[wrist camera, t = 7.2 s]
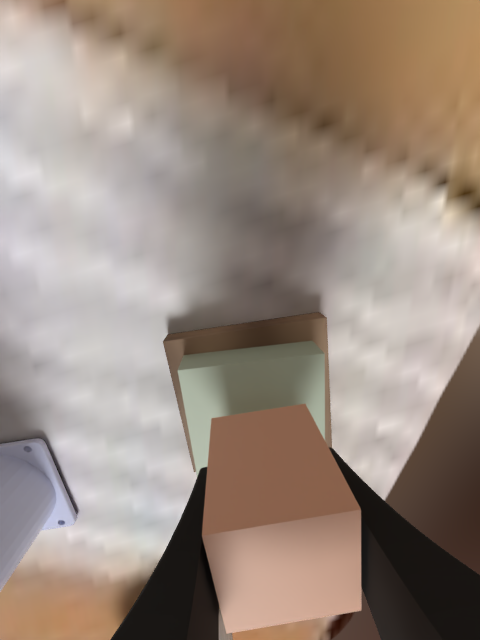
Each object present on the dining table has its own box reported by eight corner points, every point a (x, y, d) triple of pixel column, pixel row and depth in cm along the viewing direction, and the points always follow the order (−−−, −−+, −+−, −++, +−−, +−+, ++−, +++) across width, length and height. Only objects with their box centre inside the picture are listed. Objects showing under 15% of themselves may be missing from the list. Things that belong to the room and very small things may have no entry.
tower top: (201, 459, 17) (198, 485, 15) (183, 355, 15) (177, 370, 13) (314, 445, 18) (325, 469, 16) (312, 340, 15) (324, 353, 13)
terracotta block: (225, 490, 13) (226, 633, 8) (211, 418, 12) (201, 536, 7) (310, 477, 13) (361, 610, 8) (305, 403, 12) (361, 509, 7)
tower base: (197, 450, 20) (194, 471, 18) (170, 331, 17) (163, 341, 15) (321, 430, 20) (331, 449, 18) (315, 309, 17) (326, 317, 15)
